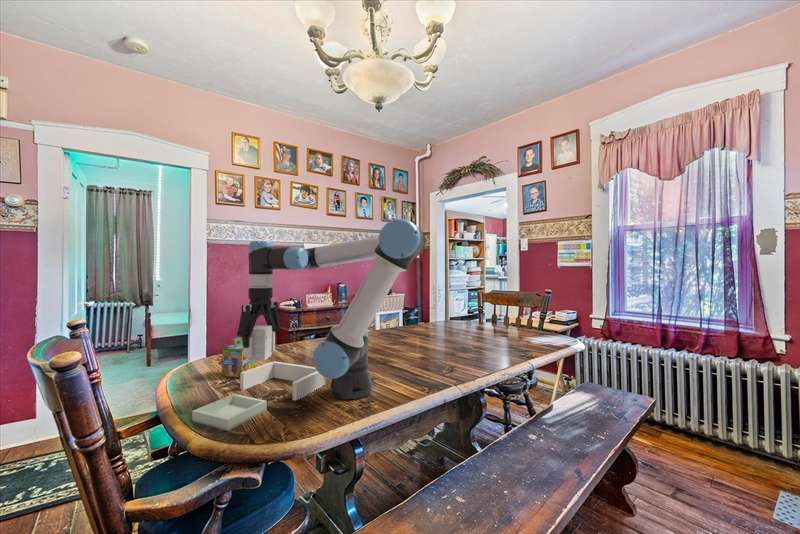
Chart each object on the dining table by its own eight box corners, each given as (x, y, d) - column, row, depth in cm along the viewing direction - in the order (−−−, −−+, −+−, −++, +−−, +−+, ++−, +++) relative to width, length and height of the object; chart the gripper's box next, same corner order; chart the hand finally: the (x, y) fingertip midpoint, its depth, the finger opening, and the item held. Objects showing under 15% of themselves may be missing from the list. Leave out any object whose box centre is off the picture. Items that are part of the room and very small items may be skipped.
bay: (325, 384, 126) (325, 368, 126) (296, 400, 110) (296, 382, 110) (273, 375, 135) (273, 361, 135) (240, 389, 120) (240, 372, 120)
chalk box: (241, 378, 131) (241, 341, 131) (221, 376, 133) (221, 340, 133) (255, 371, 140) (256, 336, 140) (236, 369, 142) (237, 335, 142)
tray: (266, 410, 103) (266, 400, 103) (227, 431, 90) (228, 419, 90) (233, 402, 108) (233, 393, 108) (192, 421, 95) (192, 410, 95)
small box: (255, 355, 115) (255, 325, 115) (272, 355, 116) (272, 325, 116) (246, 361, 107) (247, 329, 107) (264, 361, 108) (264, 329, 108)
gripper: (275, 285, 123) (275, 345, 123) (224, 288, 103) (223, 360, 103) (291, 285, 120) (291, 347, 120) (242, 289, 100) (241, 363, 100)
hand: (260, 353), depth 112 cm, fingers closed on small box, 9 cm apart
